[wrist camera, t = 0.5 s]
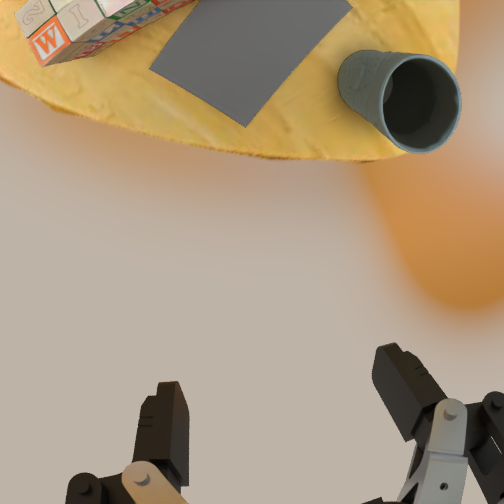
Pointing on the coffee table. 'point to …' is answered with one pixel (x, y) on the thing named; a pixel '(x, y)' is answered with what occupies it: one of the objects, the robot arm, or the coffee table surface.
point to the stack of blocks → (84, 25)
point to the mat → (244, 49)
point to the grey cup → (403, 97)
